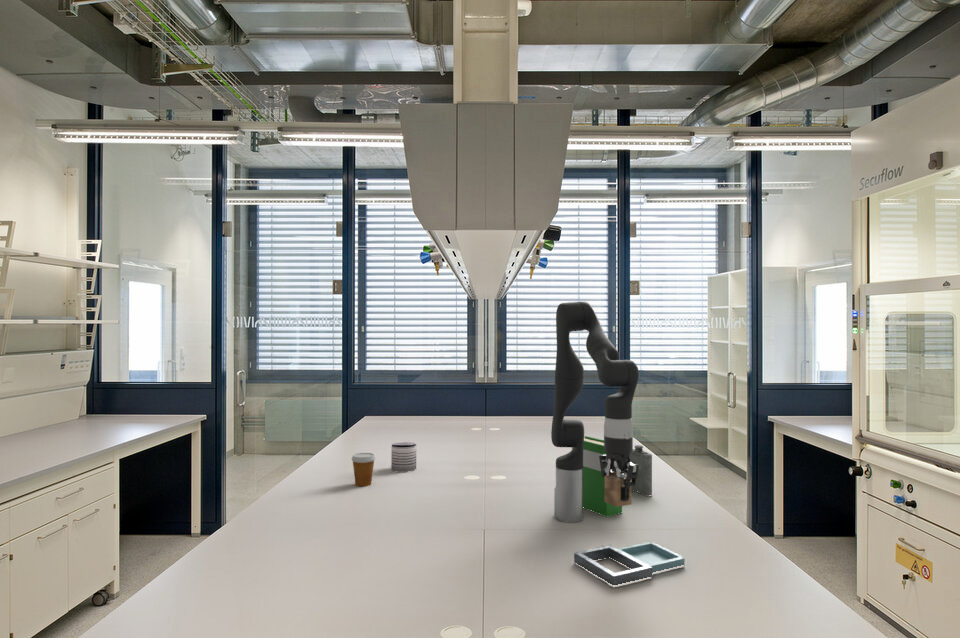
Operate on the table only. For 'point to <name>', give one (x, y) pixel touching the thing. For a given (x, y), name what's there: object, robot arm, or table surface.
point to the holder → (637, 567)
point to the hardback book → (595, 478)
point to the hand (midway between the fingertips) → (618, 497)
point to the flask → (642, 470)
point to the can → (403, 457)
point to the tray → (654, 556)
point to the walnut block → (615, 491)
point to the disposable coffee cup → (363, 468)
